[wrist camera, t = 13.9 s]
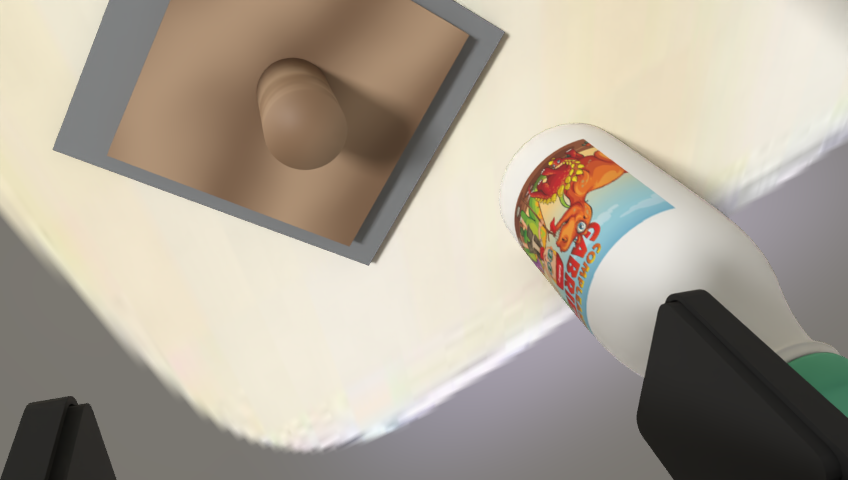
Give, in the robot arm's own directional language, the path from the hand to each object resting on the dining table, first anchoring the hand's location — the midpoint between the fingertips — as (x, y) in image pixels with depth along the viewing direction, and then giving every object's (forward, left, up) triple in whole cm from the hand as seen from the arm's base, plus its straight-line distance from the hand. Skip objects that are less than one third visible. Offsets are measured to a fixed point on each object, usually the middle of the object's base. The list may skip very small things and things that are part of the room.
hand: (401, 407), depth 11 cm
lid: (-1, +1, -23) cm, 23 cm away
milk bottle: (-17, 0, -24) cm, 29 cm away
